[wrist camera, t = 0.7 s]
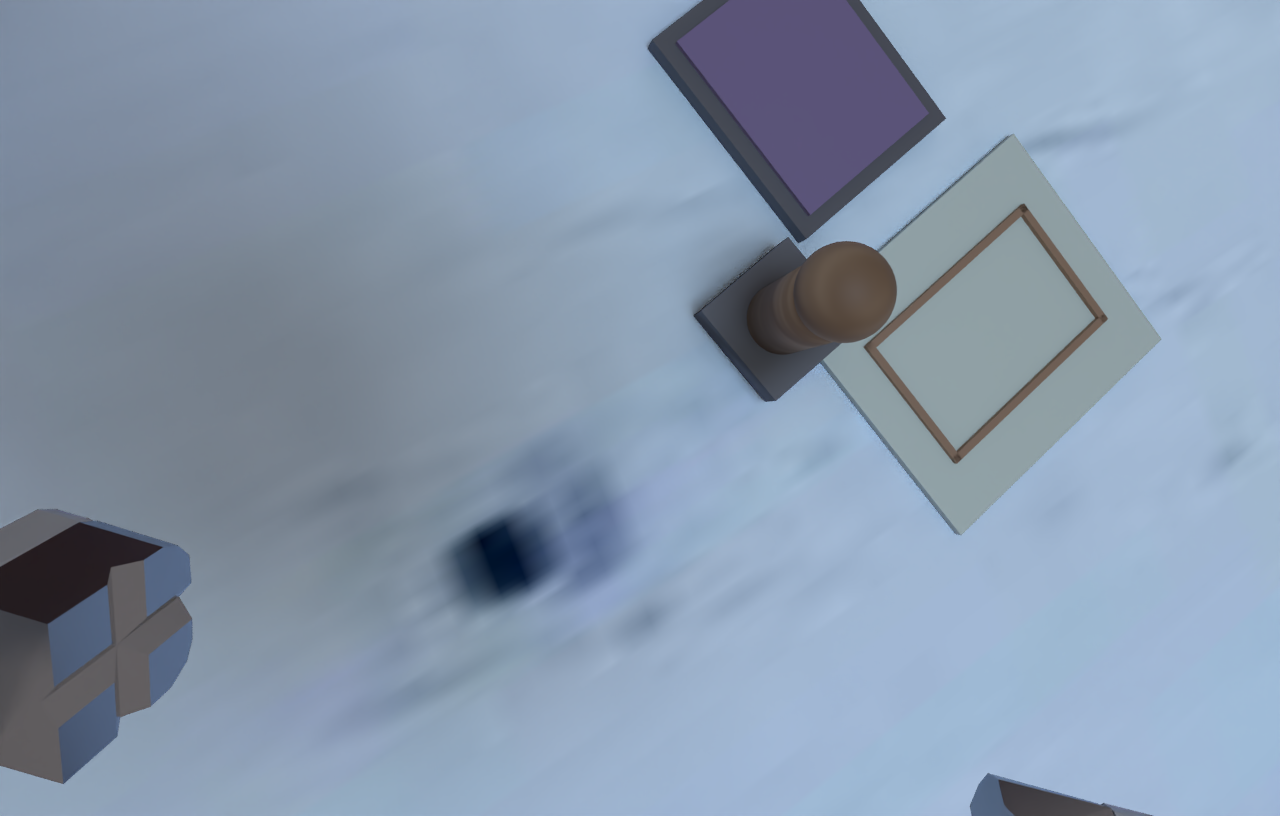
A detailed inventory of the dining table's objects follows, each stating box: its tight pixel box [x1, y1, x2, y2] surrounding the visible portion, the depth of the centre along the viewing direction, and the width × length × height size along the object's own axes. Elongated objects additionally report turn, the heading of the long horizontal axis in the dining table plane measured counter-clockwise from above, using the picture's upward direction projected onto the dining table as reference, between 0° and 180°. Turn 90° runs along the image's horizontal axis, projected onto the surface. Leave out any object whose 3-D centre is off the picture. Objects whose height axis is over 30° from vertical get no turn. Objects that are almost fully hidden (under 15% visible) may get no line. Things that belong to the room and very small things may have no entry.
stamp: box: [694, 237, 897, 402], centre depth 38 cm, size 6×6×12 cm
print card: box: [820, 134, 1161, 535], centre depth 46 cm, size 14×16×1 cm
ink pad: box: [648, 0, 946, 243], centre depth 44 cm, size 12×10×1 cm
